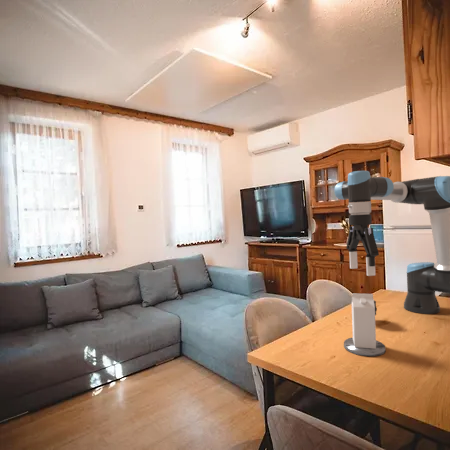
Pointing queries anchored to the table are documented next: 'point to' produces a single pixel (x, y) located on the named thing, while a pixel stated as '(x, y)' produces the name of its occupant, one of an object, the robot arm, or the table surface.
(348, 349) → the duct flange
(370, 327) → the milk carton
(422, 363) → the table surface
